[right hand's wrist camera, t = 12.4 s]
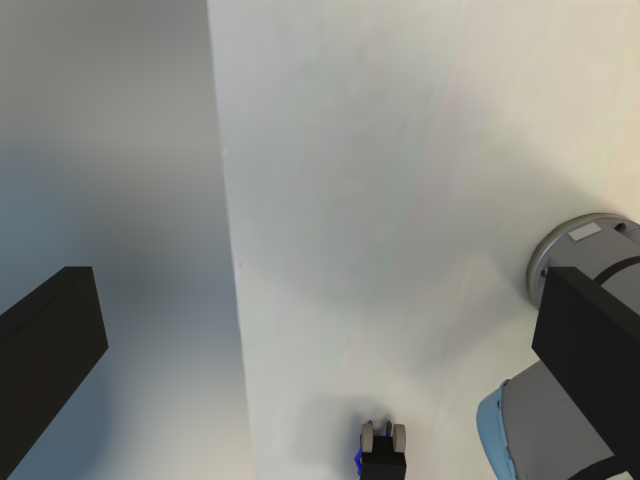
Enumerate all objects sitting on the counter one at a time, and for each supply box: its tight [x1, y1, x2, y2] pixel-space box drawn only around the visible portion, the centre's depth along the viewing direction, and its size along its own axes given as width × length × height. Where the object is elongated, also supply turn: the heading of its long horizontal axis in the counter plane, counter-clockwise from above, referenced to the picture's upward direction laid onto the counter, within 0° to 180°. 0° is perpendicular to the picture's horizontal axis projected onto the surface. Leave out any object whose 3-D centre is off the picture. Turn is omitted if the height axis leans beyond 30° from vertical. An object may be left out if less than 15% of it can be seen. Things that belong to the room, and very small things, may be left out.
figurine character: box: [354, 420, 407, 480], centre depth 62 cm, size 7×8×15 cm
